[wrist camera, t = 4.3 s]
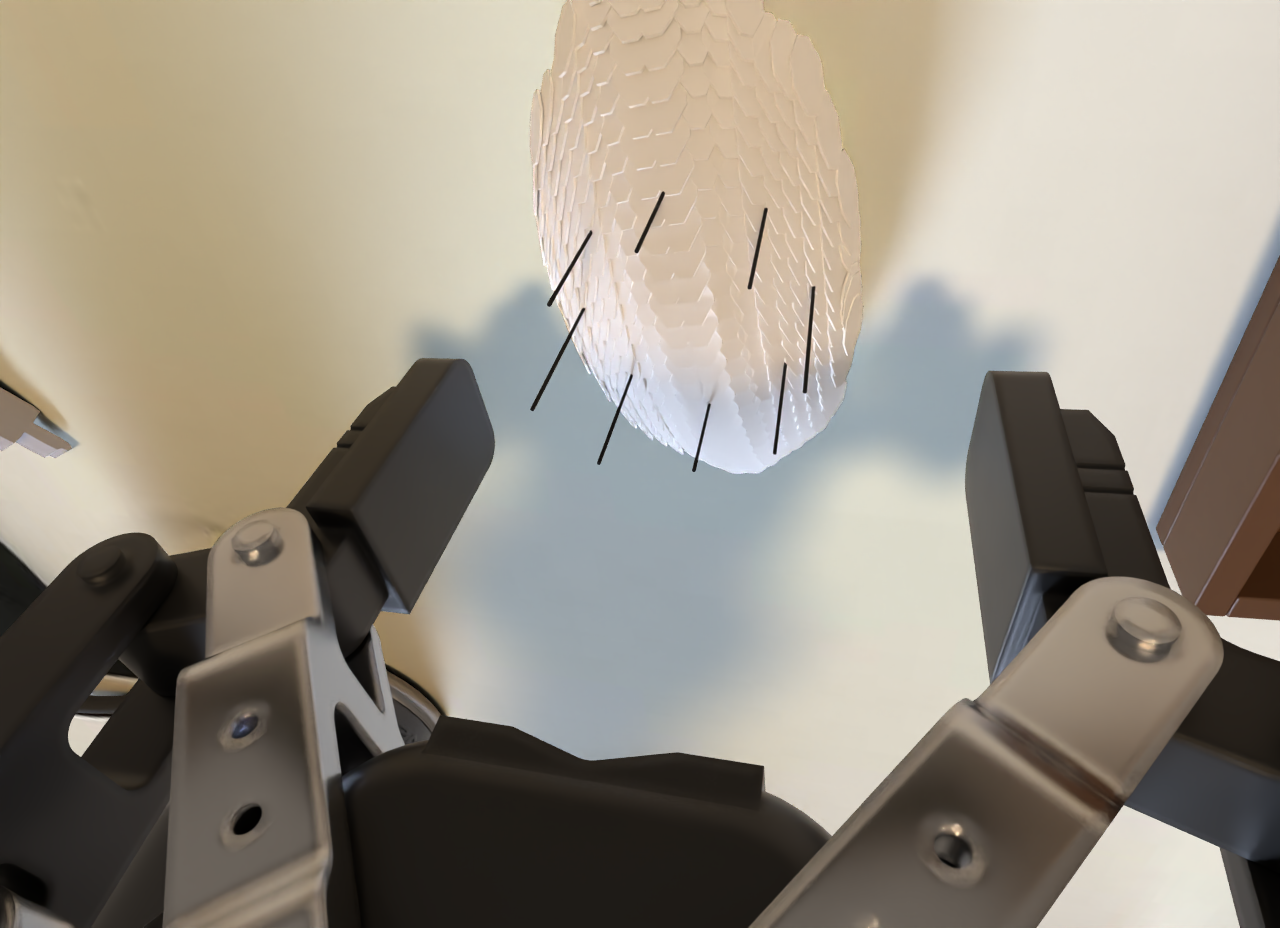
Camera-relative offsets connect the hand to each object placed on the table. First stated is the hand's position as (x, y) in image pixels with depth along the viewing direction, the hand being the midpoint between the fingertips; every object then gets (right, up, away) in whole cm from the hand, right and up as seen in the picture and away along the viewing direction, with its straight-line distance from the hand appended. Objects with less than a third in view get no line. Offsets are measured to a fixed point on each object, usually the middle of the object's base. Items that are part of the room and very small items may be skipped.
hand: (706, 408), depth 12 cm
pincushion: (0, +4, +4) cm, 6 cm away
